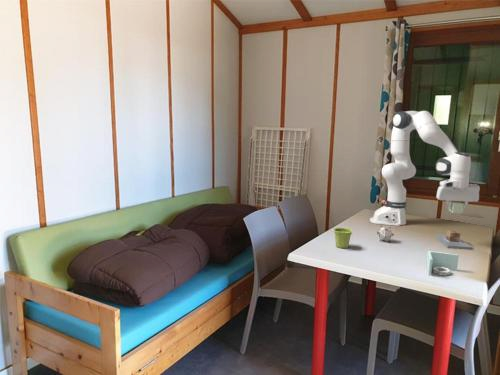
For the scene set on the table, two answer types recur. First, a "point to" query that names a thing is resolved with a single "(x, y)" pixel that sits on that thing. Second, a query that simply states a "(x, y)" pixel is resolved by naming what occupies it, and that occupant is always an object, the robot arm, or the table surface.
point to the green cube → (456, 207)
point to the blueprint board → (453, 243)
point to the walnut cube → (453, 236)
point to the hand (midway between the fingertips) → (456, 209)
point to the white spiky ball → (385, 233)
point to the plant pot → (342, 237)
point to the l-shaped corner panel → (441, 262)
